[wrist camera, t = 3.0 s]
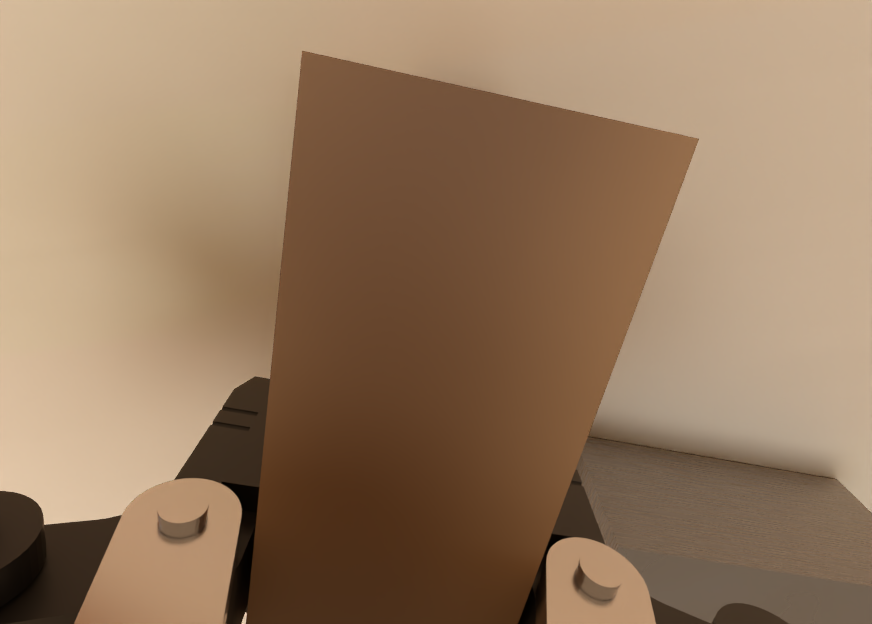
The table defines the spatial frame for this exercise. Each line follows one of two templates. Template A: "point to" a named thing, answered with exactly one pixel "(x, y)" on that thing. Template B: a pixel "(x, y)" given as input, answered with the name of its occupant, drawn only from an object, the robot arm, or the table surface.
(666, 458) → the grey slotted holder
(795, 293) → the table surface
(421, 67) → the table surface
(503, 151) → the brown u-shaped block
